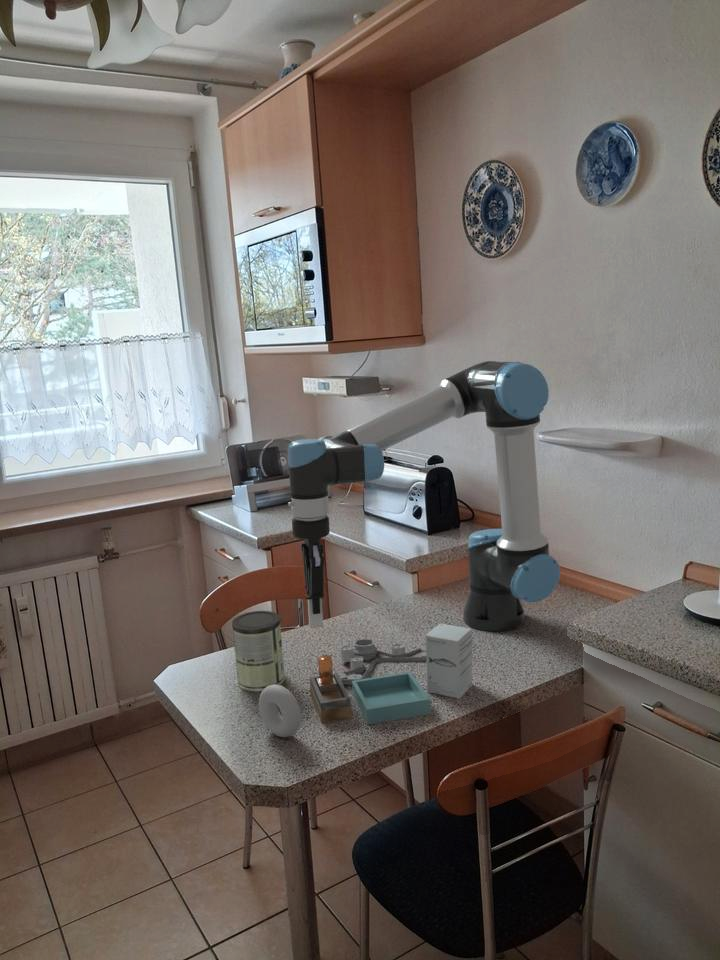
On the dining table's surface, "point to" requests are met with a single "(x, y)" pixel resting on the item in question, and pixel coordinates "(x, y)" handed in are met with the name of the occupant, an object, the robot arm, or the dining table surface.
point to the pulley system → (368, 651)
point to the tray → (390, 697)
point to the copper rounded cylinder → (326, 674)
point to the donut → (287, 705)
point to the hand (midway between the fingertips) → (316, 626)
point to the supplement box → (449, 660)
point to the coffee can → (258, 650)
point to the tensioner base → (331, 701)
